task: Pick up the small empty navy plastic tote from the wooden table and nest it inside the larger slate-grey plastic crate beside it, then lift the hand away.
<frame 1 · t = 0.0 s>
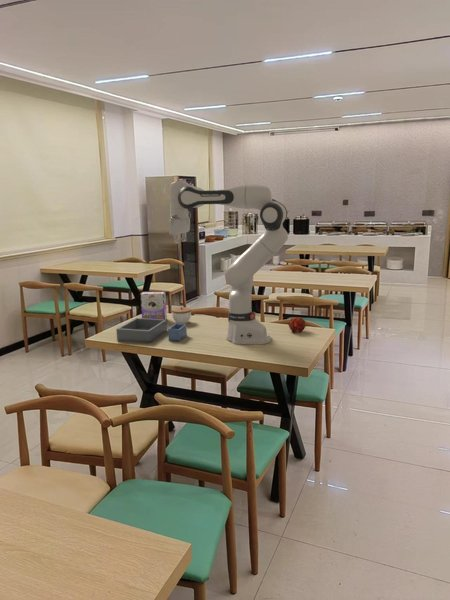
hand: (180, 242, 235), 48 cm above the table, tool pointing down, fingers open, 8 cm apart
crate: (142, 335, 245), on the table
lidded jar: (182, 322, 268), on the table
tote: (177, 337, 240), on the table
candy box: (154, 320, 275), on the table
dragon fruit: (296, 332, 247), on the table
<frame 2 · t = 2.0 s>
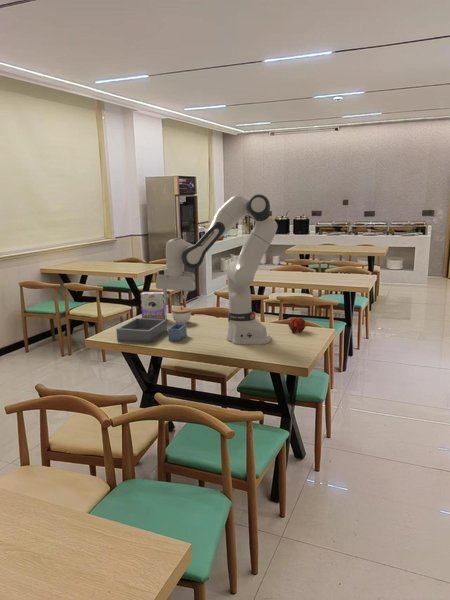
hand: (175, 298, 235), 21 cm above the table, tool pointing down, fingers open, 8 cm apart
nothing on the table moved.
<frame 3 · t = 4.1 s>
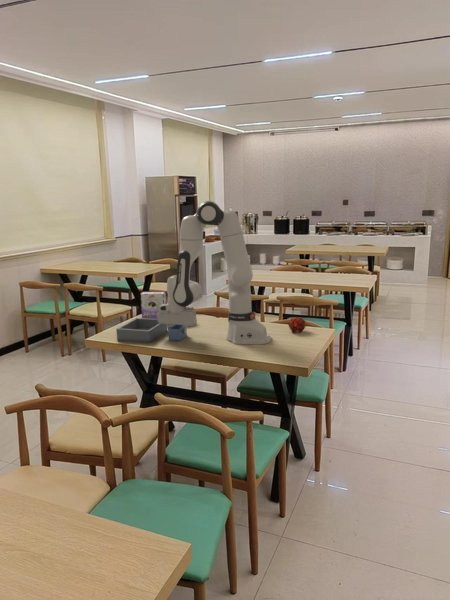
hand: (177, 332, 239), 3 cm above the table, tool pointing down, fingers closed on tote, 6 cm apart
tote: (177, 337, 240), on the table, touching gripper
everything else where it was.
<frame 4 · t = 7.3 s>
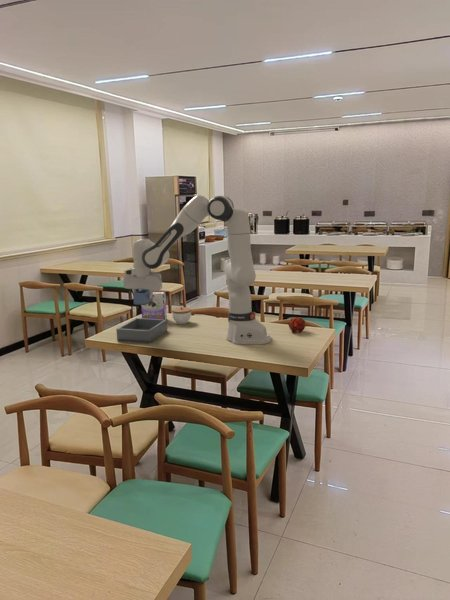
hand: (143, 297, 240), 20 cm above the table, tool pointing down, fingers closed on tote, 6 cm apart
tote: (143, 302, 241), point 18 cm above the table, touching gripper
everything else where it was.
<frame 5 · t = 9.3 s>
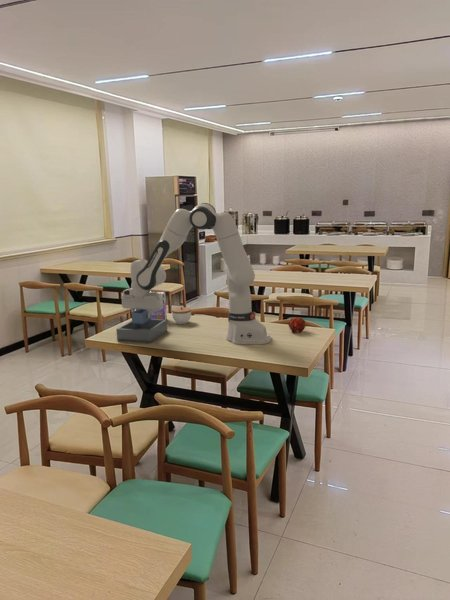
hand: (141, 317, 243), 10 cm above the table, tool pointing down, fingers closed on tote, 6 cm apart
tote: (141, 322, 243), point 7 cm above the table, touching gripper
everything else where it was.
when the fingers open (5 cm above the table, at t = 10.7 s): tote drops 1 cm, resting on crate.
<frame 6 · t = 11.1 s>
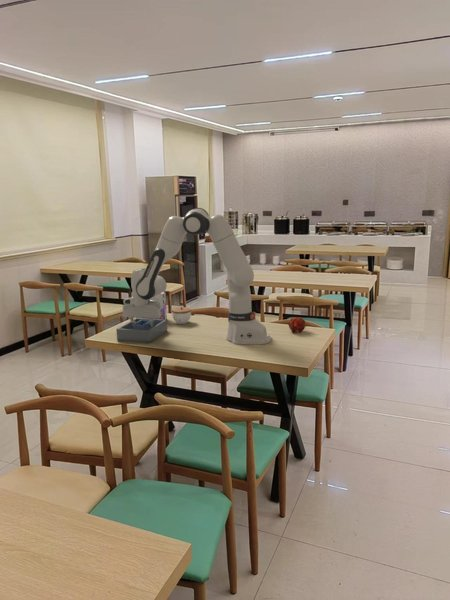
hand: (142, 325, 244), 5 cm above the table, tool pointing down, fingers open, 8 cm apart
tote: (142, 333, 245), point 1 cm above the table, touching crate
everything else where it was.
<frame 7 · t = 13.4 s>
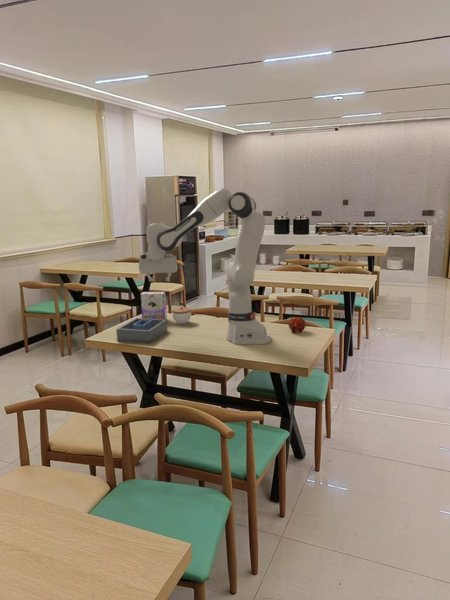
hand: (159, 281, 243), 28 cm above the table, tool pointing down, fingers open, 8 cm apart
nothing on the table moved.
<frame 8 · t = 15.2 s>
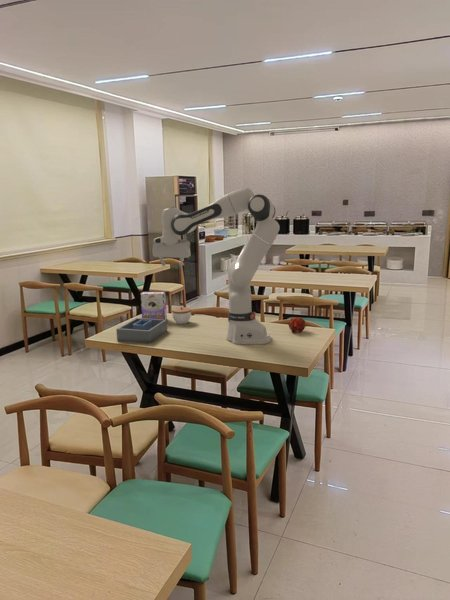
hand: (172, 265, 245), 35 cm above the table, tool pointing down, fingers open, 8 cm apart
nothing on the table moved.
at the end: tote inside the target area on the crate (0.1 cm from its centre), point 1.0 cm above the crate's base; tote tilted 0°; the gripper is holding nothing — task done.
